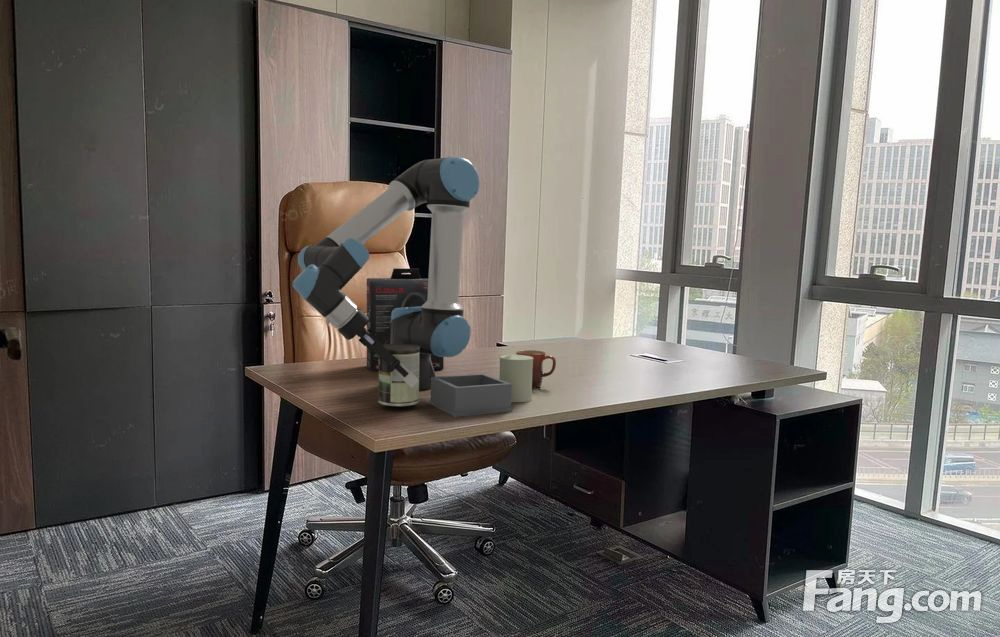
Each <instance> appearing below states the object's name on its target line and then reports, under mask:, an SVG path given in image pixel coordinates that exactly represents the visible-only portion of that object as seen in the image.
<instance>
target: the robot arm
mask: <svg viewBox="0 0 1000 637" xmlns="http://www.w3.org/2000/svg"><path fill="white" fill-rule="evenodd" d="M479 189H480V176H479V173H478V171H477V169H476V167H474V164H473V163H472V162H471V161H470V160H469V159H466V158H464V157H462V156H446V157H442V158H441V157H439V158H432V159H431V158H430V159H424V160H422V161H421V160H420V161H418V162H417V163H415V164H413V165H412V166H411V167H409V168H407V169H406V170H405V171H404V172H402V173H401V174H400V175H398V176H397V177H396V178H394V179H393V180H391V182H390V183H389V185H388V188H387V189H386V190H385V191H384V192H382V193H381V194H380V195H379V196H377V197H376V198H375V199H374V200H373V199H372V201H371V202H369V203H368V204H367V205H366V206H365V207H364V206H363V208H362V209H360V210H359V211H358V212H357V213H356V214H353V215H352V216H351V217H350V218H349V219H348V220H346V221H345V222H343V223H341V225H340V226H338V227H337V228H336V229H335V230H333V231H332V232H331V233H330V234H328V235H327V236H325V237H324V238H322V239H321V240H320V241H319V242H317V243H316V244H310V245H307V246H305V247H303V248H302V249H301V250H300V251H299V253H298V255H297V263H298V266H299V268H300V269H301V270H302V272H300V273H299V274H298V275H297V276H296V277H295V279H294V280H293V281H292V288H294V290H295V291H296V292H297V293H298V294H299V295H300V296H301V298H302V300H304V301H306V302H307V303H308V304H309V305H310V306H311V307H312V308H313V309H314V310H316V312H318V313H319V314H320V315H321V316H322V317H323V318H324V319H325V320H324V321H325V324H326V325H329V324H330V325H332V327H333V328H335V329H337V332H338V333H339V334H340V335H341V336H342V337H344V338H345V339H346V340H347V341H348V340H352V339H354V338H355V337H356V336H357V337H359V339H358V341H359V342H360V344H361V345H363V346H364V347H366V349H367V348H368V349H369V350H370V351H372V352H375V353H376V354H378V355H379V356H380V357H381V358H382V359H383V360H384V361H385V362H386V363H387V364H388V365H389V366H390V368H391V369H390V371H391V372H392V371H394V372H395V373H396V374H397V375H398V376H399V377H400V378H402V379H403V380H404V381H405V382H406V383H407V384H408V385H409V386H410V387H411V388H412V387H413V386H414V385H415V384H416V383H417V382H418V381H419V391H421V390H431V377H437V375H436V371H435V369H433V366H432V362H431V354H432V355H435V356H438V357H444V358H454V357H457V356H458V355H460V354H461V353H462V352H463V351H464V350H465V349H466V348H467V346H468V345H469V343H470V338H471V334H472V332H471V331H472V330H471V326H470V323H468V320H467V319H466V318H465V317H464V307H463V306H462V305H461V304H460V302H459V298H460V296H459V294H460V282H461V281H460V279H461V266H462V265H461V264H462V262H461V261H462V247H463V246H462V244H463V228H464V215H465V214H466V213H467V212H469V210H470V207H471V206H470V205H471V200H472V199H474V198H475V197H476V195H477V194H478V192H479ZM422 204H426V207H427V209H429V210H430V212H431V226H430V244H429V245H430V246H429V264H428V278H427V279H428V296H427V301H426V302H425V303H424V304H423V305H422V306H421V307H404V308H395V309H394V310H393V311H392V313H391V321H390V323H391V344H413V345H417V346H420V350H419V379H418V378H417V377H416V376H415V375H414V374H412V373H411V372H410V371H409V370H408V369H407V368H406V367H405V366H404V365H403V364H402V363H401V362H400V361H399V360H398V359H396V358H395V357H394V356H393V355H392V354H391V353H390V352H389V351H388V350H387V349H386V348H385V347H384V346H383V345H382V342H381V341H380V340H379V339H378V338H377V337H376V334H375V333H374V332H373V331H372V330H370V329H369V330H368V331H367V328H366V327H367V323H368V322H369V317H368V316H367V313H365V312H364V311H362V309H359V308H358V305H357V304H356V303H355V302H354V301H353V300H352V299H350V297H348V295H347V294H345V293H344V292H343V291H342V289H343V288H345V286H346V285H347V284H348V283H349V281H351V280H352V279H353V278H354V276H356V274H358V273H359V272H360V270H361V269H363V268H364V266H365V265H366V263H367V262H368V261H369V260H370V253H369V250H368V249H367V247H366V246H365V245H364V244H366V243H367V242H368V241H369V240H370V239H372V238H373V237H374V236H376V235H377V234H378V233H379V232H381V231H382V230H383V229H384V228H385V227H387V226H388V225H389V224H390V223H392V222H393V221H394V220H396V219H398V217H400V216H401V215H402V214H403V213H404V212H406V211H408V212H411V211H413V210H414V209H415V208H417V207H419V206H420V205H422ZM429 210H428V211H429ZM394 360H395V361H394ZM393 361H394V362H393ZM392 362H393V363H392ZM391 363H392V364H391Z"/></svg>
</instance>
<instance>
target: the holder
mask: <svg viewBox="0 0 1000 637" xmlns="http://www.w3.org/2000/svg"><path fill="white" fill-rule="evenodd" d="M511 393H512V384H511V383H508V382H505V381H503V380H500V378H497V377H494V376H491V375H489V374H486V373H474V374H473V373H472V374H459V375H443V376H442V375H441V376H436V377H431V388H430V399H428V404H429V405H431V406H433V407H434V408H437V409H438V410H441V411H443V412H445V413H446V414H448V415H450V416H452V417H454V418H456V417H459V418H460V417H469V416H479V415H488V414H489V415H490V414H491V415H492V414H500V413H501V414H502V413H510V412H511V413H512V411H513V410H514V408H513V407H512V402H511ZM513 412H514V411H513Z"/></svg>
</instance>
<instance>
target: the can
mask: <svg viewBox="0 0 1000 637" xmlns="http://www.w3.org/2000/svg"><path fill="white" fill-rule="evenodd" d="M532 369H533V357H531V356H526V355H517V354H503V355H501V356H499V379H500V380H503V381H505V382H508V383H511V384H512V393H511V403H514V402H522V403H528V401H529V402H531V401H532V400H533V395H532V394H533V393H532V392H533V388H532Z"/></svg>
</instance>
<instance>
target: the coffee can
mask: <svg viewBox="0 0 1000 637" xmlns="http://www.w3.org/2000/svg"><path fill="white" fill-rule="evenodd" d="M383 346H384V347H385V348H386V349H387V350H388V351H389V352H390V353H391V354H392V355H393V356H394V357H395V358H396V359H398V360H399V361H400V362H401V363H402V364H403V365H404V366H405V367H406V368H407V369H408V370H409V371H410V372H411V373H412V374H414V375H415V376H416V377H417V378H418V379H419V350H420V346H417V345H413V344H386V345H383ZM394 361H395V360H394ZM394 361H393V362H394ZM393 362H392V363H393ZM392 363H391V364H392ZM390 369H391V368H390V366H389V365H388V364H387V363H386V362H385V361H384V360H383V359H382V358H381V357H380V356H379V371H378V403H379V404H380V405H382V406H387V407H409V406H413V405H417V404H419V403H420V390H419V381H418V382H417V383H416V384H415V385H414V386H413V387H412V388H411V387H410V386H409V385H408V384H407V383H406V382H405V381H404V380H403V379H402V378H400V377H399V376H398V375H397V374H396V373H395V372H394V371H392V372H391V371H390Z"/></svg>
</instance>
